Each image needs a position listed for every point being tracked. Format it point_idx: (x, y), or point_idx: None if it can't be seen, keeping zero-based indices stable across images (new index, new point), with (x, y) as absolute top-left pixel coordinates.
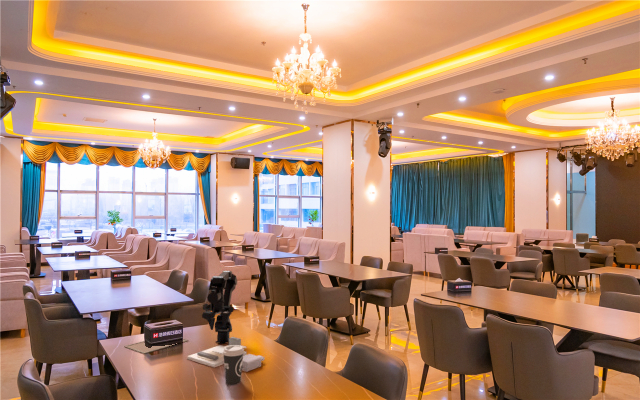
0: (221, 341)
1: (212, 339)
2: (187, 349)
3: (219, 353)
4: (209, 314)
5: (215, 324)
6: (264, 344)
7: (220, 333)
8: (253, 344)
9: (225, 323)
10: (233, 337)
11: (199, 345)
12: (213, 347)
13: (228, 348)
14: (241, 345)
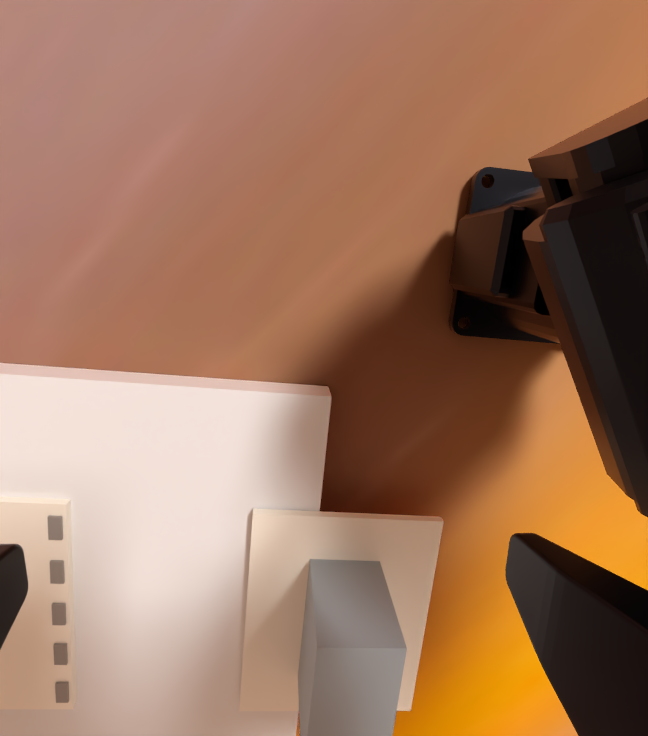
0: (469, 297)
1: (578, 9)
2: (8, 11)
3: (54, 635)
4: None
5: (603, 167)
6: None
7: (530, 281)
8: None
9: (559, 662)
10: (385, 673)
11: (255, 42)
12: (202, 393)
13: None
14: (418, 644)
